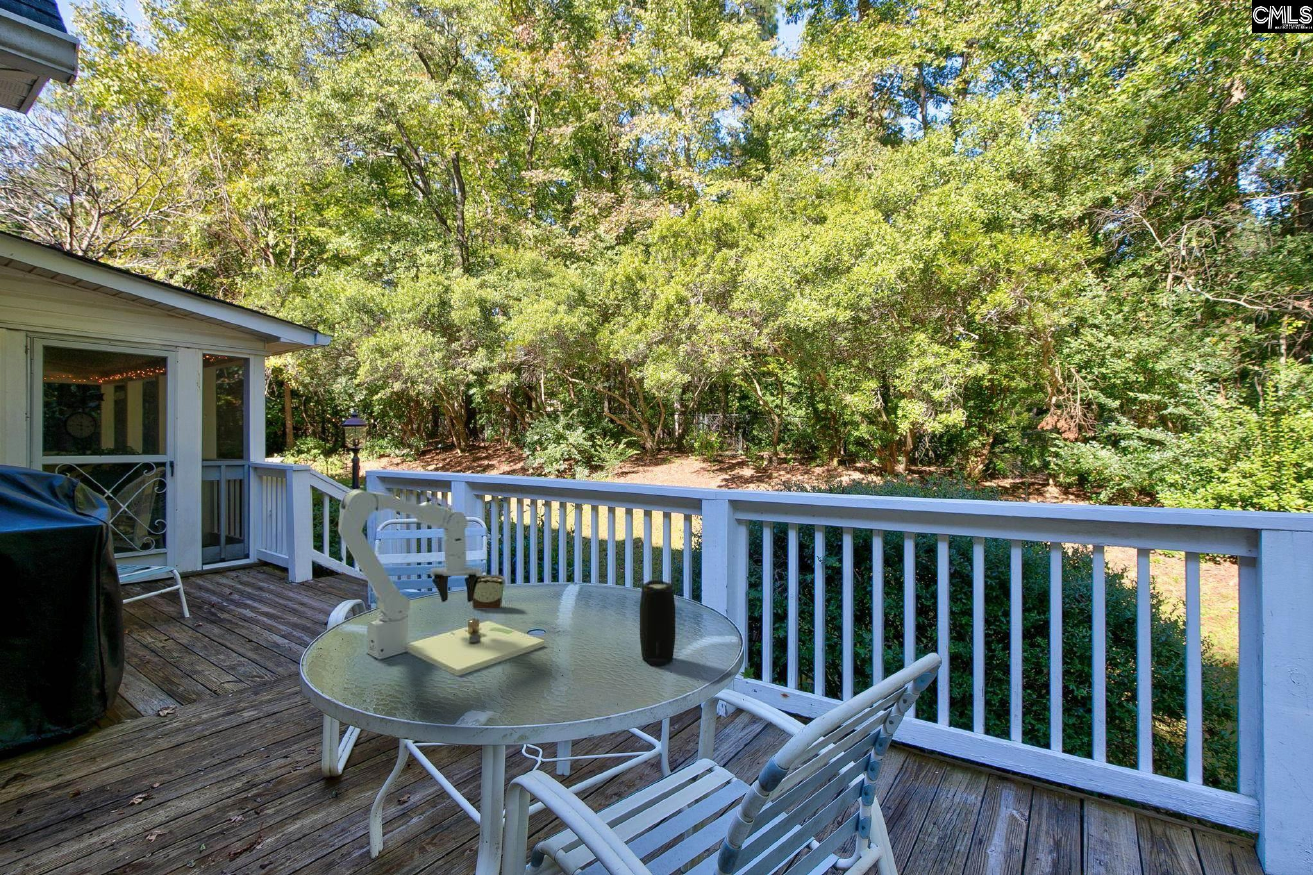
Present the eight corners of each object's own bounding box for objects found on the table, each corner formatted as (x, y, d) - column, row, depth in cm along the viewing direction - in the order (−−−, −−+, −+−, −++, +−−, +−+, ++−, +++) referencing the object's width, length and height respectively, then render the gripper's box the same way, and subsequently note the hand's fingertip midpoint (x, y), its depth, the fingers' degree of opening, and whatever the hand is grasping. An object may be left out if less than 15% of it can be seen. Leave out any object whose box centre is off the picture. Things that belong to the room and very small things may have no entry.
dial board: (457, 676, 140) (457, 669, 140) (404, 650, 157) (404, 644, 157) (544, 646, 160) (544, 640, 160) (488, 625, 177) (488, 620, 177)
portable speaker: (647, 652, 156) (647, 577, 156) (680, 657, 152) (681, 581, 152) (633, 663, 148) (633, 585, 148) (668, 669, 144) (668, 589, 144)
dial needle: (481, 642, 158) (481, 630, 158) (469, 643, 157) (469, 631, 157) (478, 628, 170) (478, 616, 170) (467, 629, 169) (467, 618, 169)
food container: (511, 604, 200) (511, 574, 200) (504, 609, 194) (504, 579, 194) (475, 603, 201) (475, 573, 201) (468, 608, 195) (468, 578, 195)
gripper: (485, 549, 170) (487, 596, 171) (437, 550, 172) (440, 596, 172) (475, 555, 163) (477, 604, 164) (425, 556, 165) (428, 604, 165)
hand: (457, 600), depth 167 cm, fingers open, 7 cm apart
